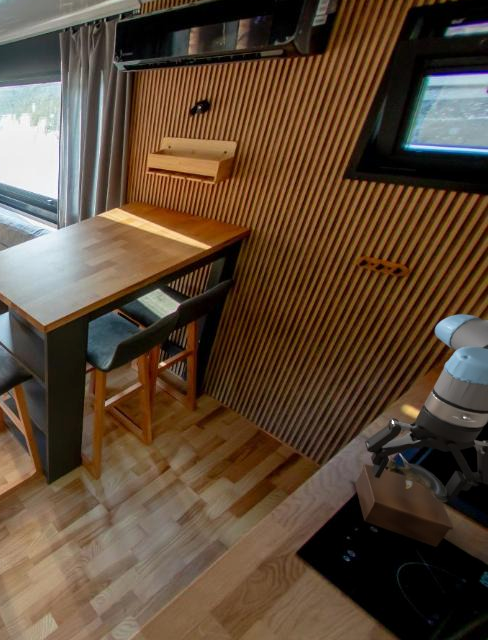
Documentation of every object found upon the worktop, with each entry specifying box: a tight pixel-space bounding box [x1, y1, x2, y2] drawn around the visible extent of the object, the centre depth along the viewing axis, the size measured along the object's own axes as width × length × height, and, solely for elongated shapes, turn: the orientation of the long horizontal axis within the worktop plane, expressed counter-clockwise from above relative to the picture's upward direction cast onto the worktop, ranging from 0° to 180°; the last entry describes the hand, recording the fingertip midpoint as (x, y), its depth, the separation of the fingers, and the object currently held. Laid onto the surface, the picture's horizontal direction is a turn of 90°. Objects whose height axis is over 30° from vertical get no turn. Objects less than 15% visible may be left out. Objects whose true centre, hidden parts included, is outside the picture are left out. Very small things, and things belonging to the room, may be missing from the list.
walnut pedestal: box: [355, 463, 454, 548], centre depth 86 cm, size 11×11×8 cm
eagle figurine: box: [385, 453, 448, 503], centre depth 81 cm, size 8×7×9 cm
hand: (410, 483), depth 83 cm, fingers closed on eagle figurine, 10 cm apart
